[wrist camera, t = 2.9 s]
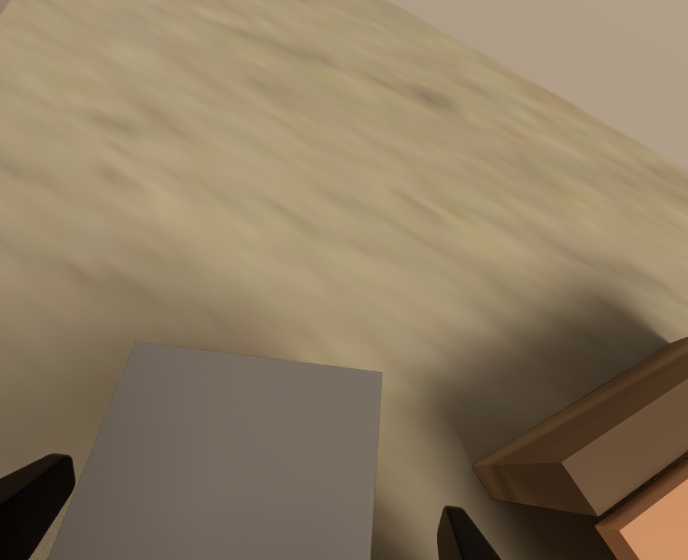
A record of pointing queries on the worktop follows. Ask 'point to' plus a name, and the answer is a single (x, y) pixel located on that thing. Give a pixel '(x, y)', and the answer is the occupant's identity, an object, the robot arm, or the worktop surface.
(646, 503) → the trapdoor
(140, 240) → the worktop surface
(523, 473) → the frame
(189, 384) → the stone
